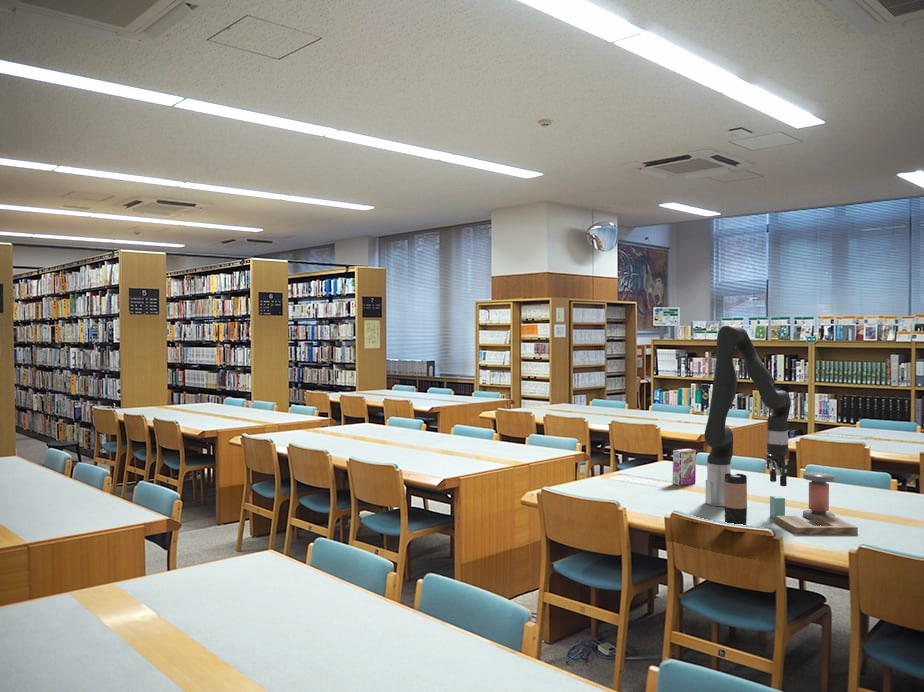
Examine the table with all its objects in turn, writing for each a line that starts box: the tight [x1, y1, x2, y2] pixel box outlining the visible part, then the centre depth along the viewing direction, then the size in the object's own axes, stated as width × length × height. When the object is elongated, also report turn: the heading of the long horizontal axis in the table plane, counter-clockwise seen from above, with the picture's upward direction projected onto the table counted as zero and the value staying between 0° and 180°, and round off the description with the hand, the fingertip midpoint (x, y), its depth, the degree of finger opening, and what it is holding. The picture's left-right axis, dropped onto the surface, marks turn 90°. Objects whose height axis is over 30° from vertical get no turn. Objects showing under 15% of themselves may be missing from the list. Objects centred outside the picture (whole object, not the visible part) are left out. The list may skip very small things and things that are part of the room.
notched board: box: [774, 515, 859, 535], centre depth 251 cm, size 22×16×2 cm
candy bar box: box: [671, 448, 697, 487], centre depth 326 cm, size 11×5×16 cm, turn 122°
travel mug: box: [723, 473, 748, 526], centre depth 249 cm, size 8×8×20 cm
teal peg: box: [769, 495, 786, 519], centre depth 266 cm, size 4×4×8 cm
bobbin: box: [802, 471, 836, 521], centre depth 265 cm, size 11×11×16 cm
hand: (778, 483), depth 265 cm, fingers open, 8 cm apart
